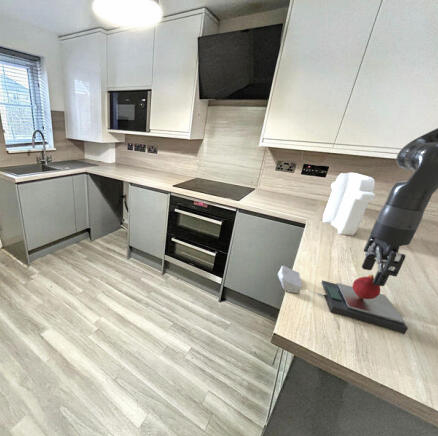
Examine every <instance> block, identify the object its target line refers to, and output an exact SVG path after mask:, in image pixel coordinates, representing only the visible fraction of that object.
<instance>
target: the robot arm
mask: <svg viewBox="0 0 438 436" xmlns="http://www.w3.org/2000/svg"><path fill="white" fill-rule="evenodd" d="M395 162H396V164H397V166H398V167H399V168H401V169H402V170H405V171H408V172H413V173H412V174H411V176H410V177H409V178H408V179H407V180H401V181H397V182H394V184H393V185H392V186H391V188H390V190H389V193H388V196H387V197H386V199H385V202H384V204H383V206H382V207H381V208H380V211H379V213H378V215H377V217H376V219H375V222H374V224H373V227H372V229H371V231H370V235H369V238H368V240H367V242H366V244H365V246H364V248H363V253H365V254H364V257H365V258H364V260H363V262H362V264H361V268H362V270H367V271H372V270H373V268H374V266H375V263H376V264H377V271H376V273H375V276H374V280H373V283H374V284H375V285H379V286H380V287H385V286H386V283H387V281H388V279H389V278H390V277H395V278H396V277H398V275H399V272H400V270H401V268H402V266H403V263H404V262H405V259H406V254H405V253H404V254H403V253H400V252H399V250H400V247H402V246H409V245H410V244H411V242H412V241H413V239H414V236H415V234H416V232H417V231H418V228H419V227H420V224H421V222H422V221H423V218H424V213H425V211H426V209H427V208H428V205H429V204H430V201H431V199H432V196H433V195H434V194H435V193H436V191H438V127H436V128H434V129H432V130H430V131H429V132H427V133H425V134H422V135H421V136H418V137H416V138H414V139H413V140H411V141H409V142H408V143H407V144H405V146H403V147H402V148H401V149H400V150H399V152H398V153H397V155H396V158H395Z"/></svg>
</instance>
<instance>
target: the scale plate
mask: <svg viewBox="0 0 438 436" xmlns="http://www.w3.org/2000/svg"><path fill="white" fill-rule="evenodd" d="M335 284H336V286H337V288H338V291H339V293H340V295H341V297H342V299H343V301H344V303H345V305H346V307H347V309H350V310H354V311H357V312H361V313H364V314H368V315H371V316H375V317H378V318H382V319H385V320H389V321H392V322H396V323H399V324H403V325H404V323H405V324H406V321H405V320H404V318H403V317H402V316H401V314H400V313H399V312H398V310H397V309H396V307H395V306H394V305H393V304H392V302H391V301H390V300H389V298H388V297H387V296H386V294H383V293H380V294H379V295H378V296H377V297H376V298H373V299H361V298H359V297H358V296H357V295H356V294H355V292H354V290H353V285H347V284H344V283H341V282H340V283H339V282H336V283H335Z"/></svg>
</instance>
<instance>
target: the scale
mask: <svg viewBox="0 0 438 436" xmlns="http://www.w3.org/2000/svg"><path fill="white" fill-rule="evenodd" d="M336 284H337V283H334V282H331V281H327V280H326V281H325V280H321V285H322V287H323V291H324V294H323V297H324V298H325V301H326V305H327V306H328V310H329V311H330V312H329V313H331V314H335V315H337V316H338V315H339V316H342V317H345V318H349V319H353V320H355V321H359V322H362V323H366V324H369V325H373V326H376V327H379V328H383V329H386V330H390V331H392V332H397V333H400V334H403V335H405V334H406V333H407V331H408V329H409V327H408V326H407V324H406V322H405V323H404V325H403V324H399V323H396V322H392V321H389V320H385V319H382V318H378V317H375V316H371V315H368V314H364V313H361V312H357V311H354V310H350V309H347V307H346V305H345V303H344V301H343V299H342V297H341V295H340V293H339V291H338V288H337V286H336Z"/></svg>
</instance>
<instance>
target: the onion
mask: <svg viewBox="0 0 438 436" xmlns="http://www.w3.org/2000/svg"><path fill="white" fill-rule="evenodd" d="M374 278H375V276H374V274H369V275H368V276H362V277H358V278H355V280H354V281H353V282H352V287H353V290H354V292H355V294H356V295H357V296H358V297H359V298H361V299H373V298H376V297H377V296H378V295H379V294H381V286H379V285H375V284H374V283H373V280H374Z"/></svg>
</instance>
